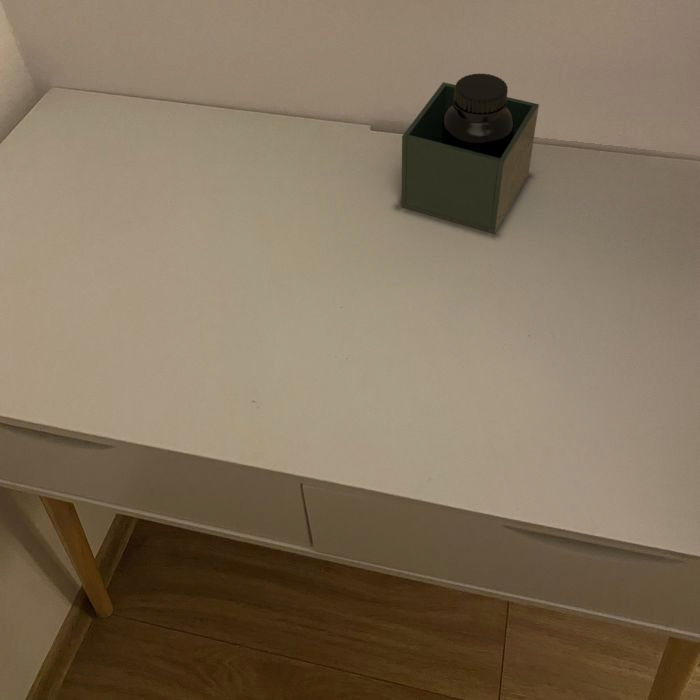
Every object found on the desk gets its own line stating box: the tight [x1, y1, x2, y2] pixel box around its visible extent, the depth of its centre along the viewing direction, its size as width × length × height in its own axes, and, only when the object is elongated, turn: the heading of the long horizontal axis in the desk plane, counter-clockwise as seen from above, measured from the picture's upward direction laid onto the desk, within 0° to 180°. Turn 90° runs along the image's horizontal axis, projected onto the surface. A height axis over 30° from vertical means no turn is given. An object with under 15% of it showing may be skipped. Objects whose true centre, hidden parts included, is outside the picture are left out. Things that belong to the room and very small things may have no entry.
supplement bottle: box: [441, 73, 514, 158], centre depth 79 cm, size 7×7×12 cm
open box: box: [400, 81, 540, 235], centre depth 81 cm, size 10×10×8 cm
